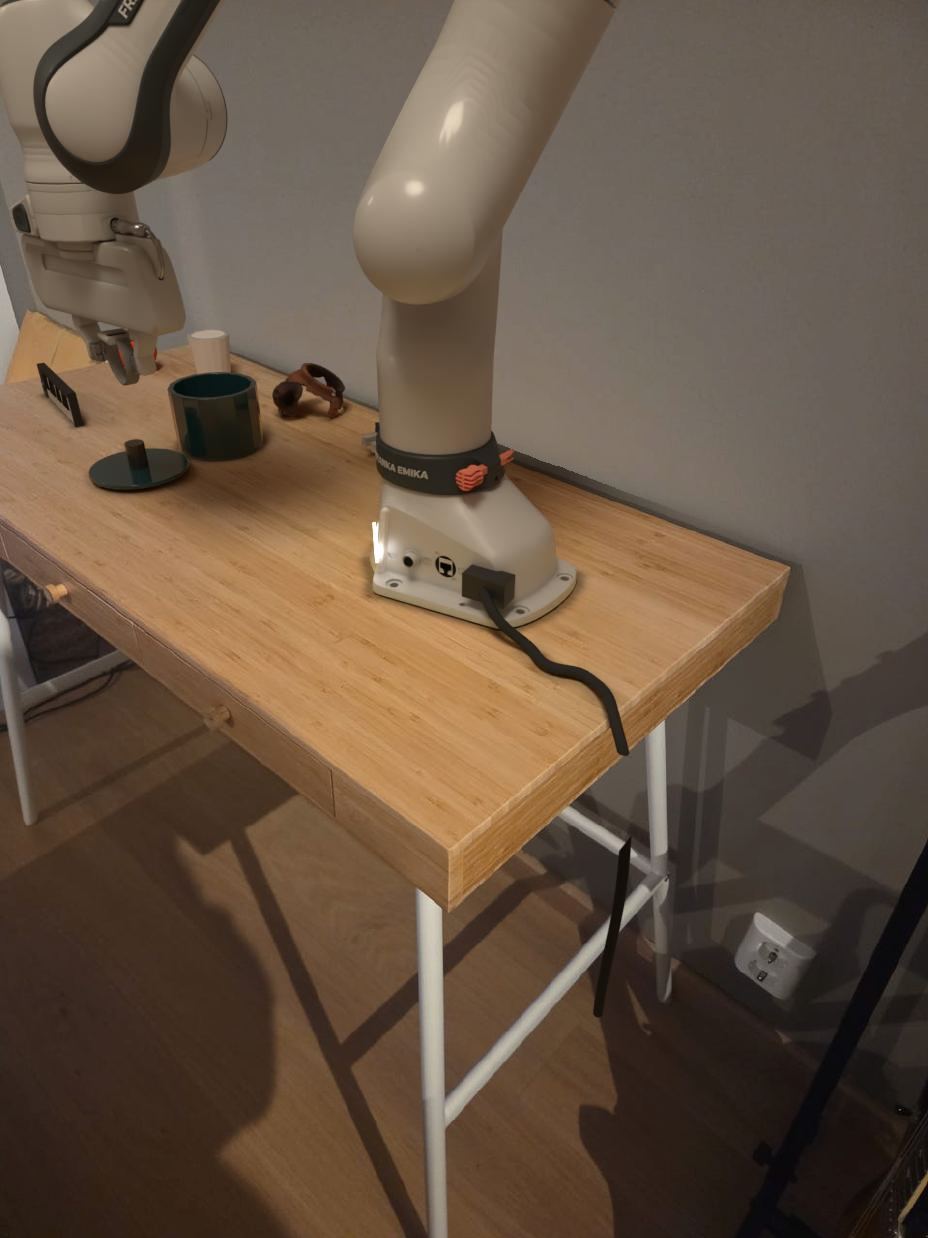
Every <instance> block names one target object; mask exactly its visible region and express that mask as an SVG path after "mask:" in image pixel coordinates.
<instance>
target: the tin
mask: <svg viewBox="0 0 928 1238" xmlns="http://www.w3.org/2000/svg"><path fill="white" fill-rule="evenodd" d="M257 383H258V382H257V381H256V380H255V379H254V378H253V377H252V376H249V375H246V374H243V373H240V372H232V371H231V372H209V373H201V374H196V373H195V374H191V375H187V376H183V377H180V378H178V379H176V380H174V381H173V382H170V383H169V385H168V386H167V395H168V401H169V406H170V411H171V416H172V421H173V427H174V432H175V438H176V443H177V446H178V449H179V453H181V454H183V455H185V456H186V458H190V459H192V460H193V459H194V460H198V461H206V462H218V461H219V462H220V461H230V460H236V459H239V458H244V457H247V456H249V455H251V454H253V453H256V452H257V451H259V450H260V449H261V448H262V446H263V444H264V433H263V425H262V414H261V409H260V408H261V407H260V399H259V392H258V384H257Z"/></svg>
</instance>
